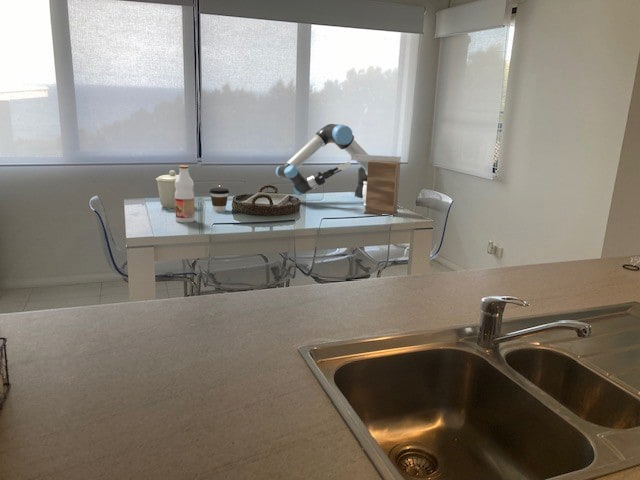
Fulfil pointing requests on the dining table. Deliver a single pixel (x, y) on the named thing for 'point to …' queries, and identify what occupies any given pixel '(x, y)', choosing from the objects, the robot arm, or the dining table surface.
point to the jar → (364, 192)
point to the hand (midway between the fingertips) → (346, 164)
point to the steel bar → (375, 158)
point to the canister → (167, 189)
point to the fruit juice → (184, 196)
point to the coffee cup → (219, 198)
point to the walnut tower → (382, 187)
